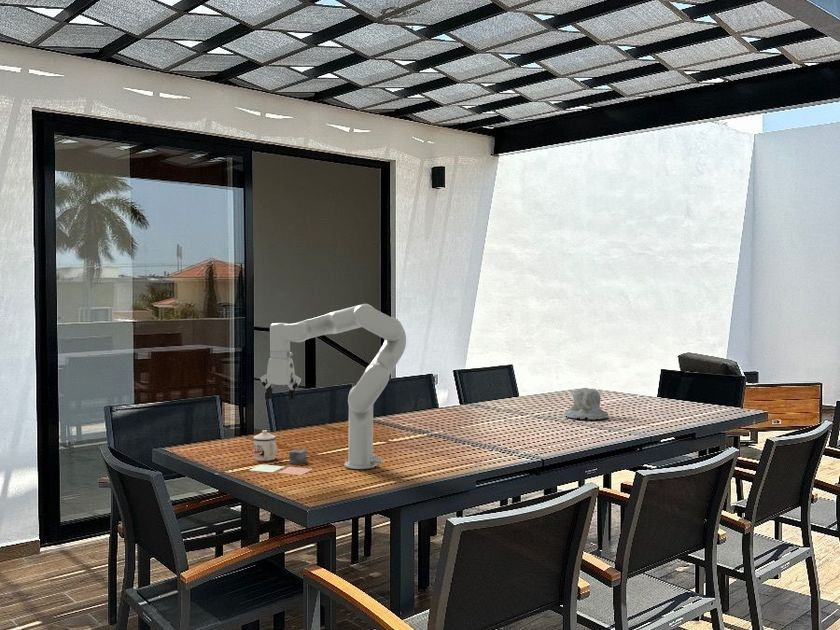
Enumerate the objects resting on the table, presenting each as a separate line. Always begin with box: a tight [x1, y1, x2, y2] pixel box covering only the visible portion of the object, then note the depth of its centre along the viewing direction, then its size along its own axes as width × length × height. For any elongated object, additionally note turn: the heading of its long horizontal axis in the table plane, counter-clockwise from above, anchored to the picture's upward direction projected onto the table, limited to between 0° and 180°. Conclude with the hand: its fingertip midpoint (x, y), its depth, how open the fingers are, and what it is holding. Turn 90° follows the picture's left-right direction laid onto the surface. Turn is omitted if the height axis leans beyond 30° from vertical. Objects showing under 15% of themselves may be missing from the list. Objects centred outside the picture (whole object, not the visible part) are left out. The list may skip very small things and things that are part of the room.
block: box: [288, 448, 308, 465], centre depth 316 cm, size 5×5×5 cm
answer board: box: [249, 464, 314, 476], centre depth 303 cm, size 22×10×1 cm, turn 72°
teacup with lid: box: [252, 429, 278, 462], centre depth 322 cm, size 12×9×12 cm
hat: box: [564, 388, 610, 420], centre depth 431 cm, size 26×23×15 cm
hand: (280, 399), depth 307 cm, fingers open, 9 cm apart
